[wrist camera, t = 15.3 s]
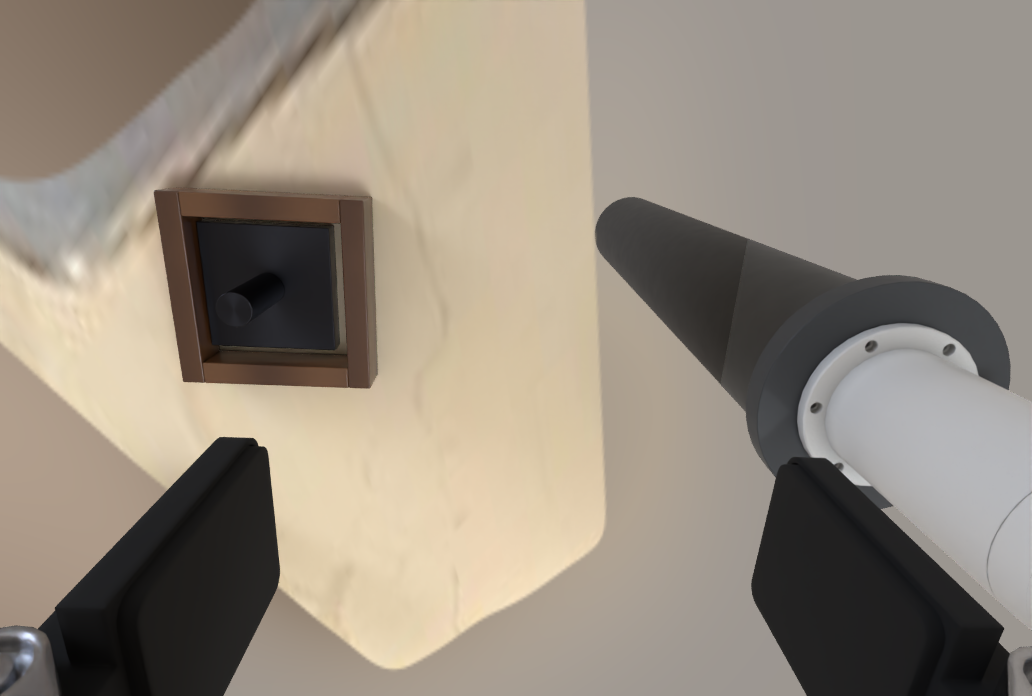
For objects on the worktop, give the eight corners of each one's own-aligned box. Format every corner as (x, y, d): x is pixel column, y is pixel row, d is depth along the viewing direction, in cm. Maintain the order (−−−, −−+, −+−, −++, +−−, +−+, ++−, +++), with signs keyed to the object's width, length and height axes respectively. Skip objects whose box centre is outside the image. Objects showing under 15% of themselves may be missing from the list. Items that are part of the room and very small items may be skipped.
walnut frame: (372, 196, 36) (363, 200, 33) (378, 374, 40) (370, 389, 37) (176, 187, 35) (152, 190, 33) (201, 368, 39) (182, 382, 37)
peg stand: (333, 225, 36) (302, 240, 30) (340, 344, 39) (312, 379, 33) (205, 219, 36) (148, 233, 30) (220, 339, 39) (170, 374, 33)
